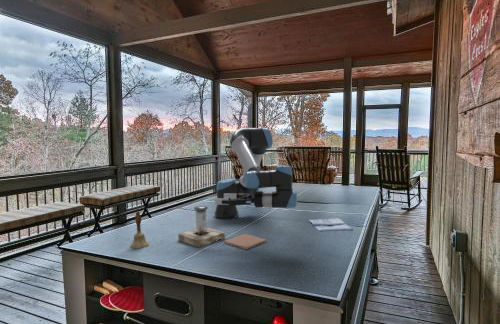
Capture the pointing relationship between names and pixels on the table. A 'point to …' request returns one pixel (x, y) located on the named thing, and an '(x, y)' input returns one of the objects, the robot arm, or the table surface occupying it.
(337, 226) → the white folded cloth
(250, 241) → the terracotta mat
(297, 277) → the table surface
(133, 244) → the hand bell
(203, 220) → the aluminium plug
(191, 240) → the frame
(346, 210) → the table surface
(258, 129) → the robot arm
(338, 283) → the table surface
